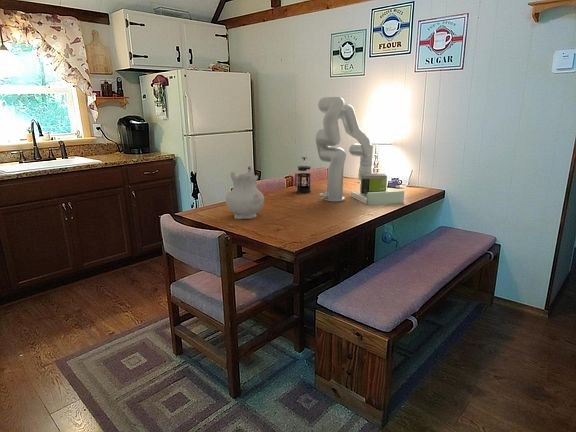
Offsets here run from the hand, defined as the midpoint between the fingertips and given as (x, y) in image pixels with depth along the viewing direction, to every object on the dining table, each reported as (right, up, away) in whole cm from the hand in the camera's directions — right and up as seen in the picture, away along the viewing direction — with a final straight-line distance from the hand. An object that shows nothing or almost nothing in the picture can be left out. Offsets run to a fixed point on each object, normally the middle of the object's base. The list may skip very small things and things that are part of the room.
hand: (364, 191), depth 250 cm
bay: (+4, -6, -15) cm, 17 cm away
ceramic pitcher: (-72, -16, -50) cm, 89 cm away
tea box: (+3, -5, -10) cm, 12 cm away
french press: (-40, 0, +6) cm, 40 cm away
